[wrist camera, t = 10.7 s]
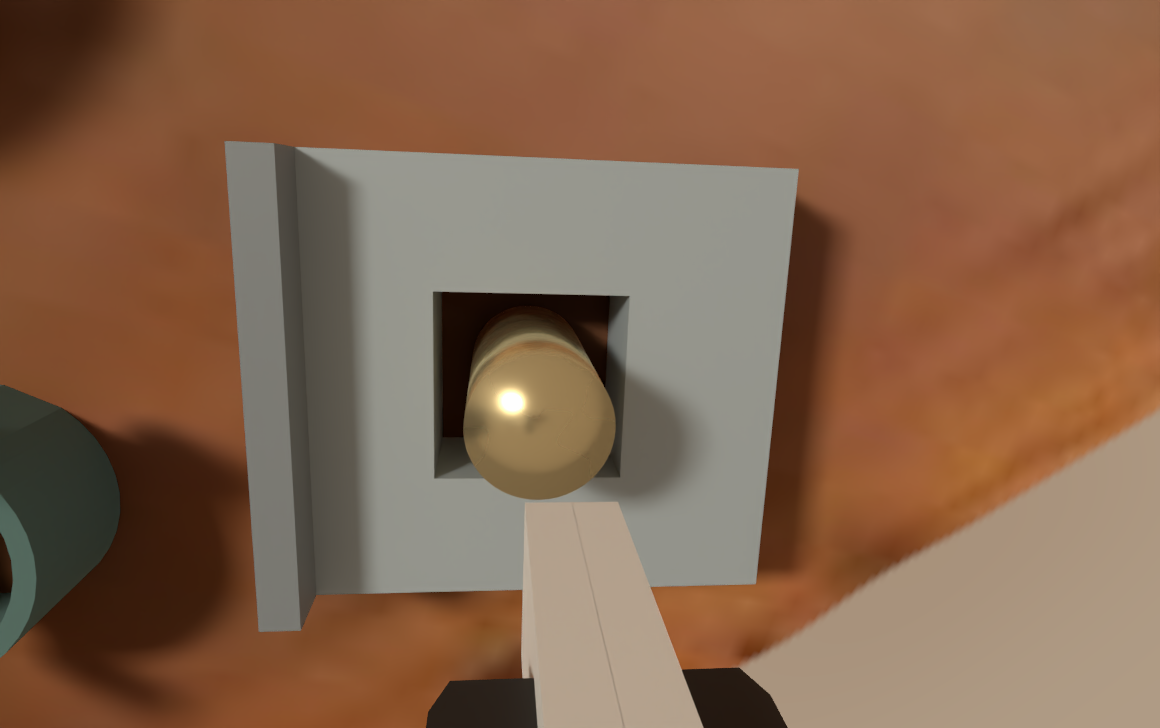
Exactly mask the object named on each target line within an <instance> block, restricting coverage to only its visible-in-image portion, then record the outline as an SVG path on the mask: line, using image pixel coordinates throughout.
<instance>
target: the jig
mask: <svg viewBox="0 0 1160 728" xmlns="http://www.w3.org/2000/svg"><path fill="white" fill-rule="evenodd" d="M225 154H226V168H227V182H228V197H229V211H230V225H231V240H232V254H233V268H234V282H235V297H236V311H237V325H238V340H239V354H240V368H241V382H242V397H243V411H244V425H245V440H246V454H247V468H248V483H249V497H250V511H251V525H252V540H253V554H254V568H255V583H256V597H257V611H258V625H259V632H268V631H301V629H302V627H303V624H304V622H305V620H306V617H307V615H308V613H309V611H310V608H311V606H312V604H313V601H314V599H315V597H316V595H326V594H368V593H409V592H451V591H492V590H523V559H524V515H525V503H538V502H618V503H619V506H620V509H621V511H622V514H623V517H624V519H625V522H626V525H627V527H628V530H629V532H630V535H631V538H632V540H633V543H634V546H635V548H636V551H637V554H638V556H639V559H640V562H641V564H642V567H643V569H644V572H645V575H646V577H647V580H648V583H649V585H650V587H658V586H699V585H741V584H756V577H757V568H758V558H759V548H760V539H761V529H762V519H763V510H764V500H765V490H766V481H767V471H768V461H769V452H770V442H771V432H772V423H773V413H774V403H775V394H776V384H777V374H778V365H779V355H780V345H781V336H782V326H783V316H784V307H785V297H786V287H787V278H788V268H789V258H790V249H791V239H792V229H793V220H794V210H795V200H796V191H797V181H798V171H799V169H785V168H762V167H739V166H716V165H693V164H671V163H648V162H625V161H602V160H579V159H557V158H534V157H511V156H488V155H465V154H442V153H420V152H397V151H374V150H351V149H328V148H305V147H292V146H286V145H281V144H275V143H256V142H234V141H225ZM442 292H477V293H522V294H567V295H610V300H609V321H608V342H607V362H606V383H605V389H606V391H607V393H608V395H609V397H610V399H611V402H612V405H613V408H614V413H615V421H616V430H615V438H614V443H613V447H612V449H611V452H610V454H609V456H608V458H607V460H606V462H605V464H604V465H603V466H602V468H601V469H600V471H599V472H598V473H597V474H596V475H595V476H594V477H593V478H592V479H591V480H590V481H589V482H587V483H586V484H585V485H583V486H582V487H580V488H579V489H577V490H575V491H573V492H571V493H569V494H566V495H563V496H561V497H557V498H552V499H544V500H530V499H523V498H519V497H515V496H512V495H509V494H507V493H505V492H502V491H501V490H499V489H497V488H496V487H494V486H493V485H491V484H490V483H489V482H488V481H486V480H485V479H484V478H483V477H482V476H481V475H480V473H479V472H478V471H477V469H476V468H475V467H474V465H473V463H472V461H471V460H470V458H469V455H468V452H467V450H466V446H465V442H464V437H443V384H442Z"/></svg>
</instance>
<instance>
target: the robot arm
mask: <svg viewBox="0 0 1160 728" xmlns="http://www.w3.org/2000/svg"><path fill="white" fill-rule="evenodd" d="M521 657H522V676H523V678H520V679H492V680H465V681H450V682H449V683H448V685H447V686H446V687H445V689H444V690H443V692H442V693H441V695H440V696H439V697H438V699H437V700H436V702H435V703H434V704H433V706H432V707H431V709H430V710H429V712H428V717H427V725H426V728H787V726H786V724H785V722H784V720H783V718H782V716H781V715H780V712H779V711H778V709H777V707H776V705H775V703H774V701H773V699H772V698H771V696H770V694H768V693H767V692H766V691H765V690H764V689H763V688H762V687H760V686H759V685H758V684H757V683H756V682H755V681H754V680H753V679H751V678H750V677H749V676H748V675H747V674H746V673H745V672H743V671H742V670H741V669H740V668H716V669H688V670H681V667H680V665H679V662H678V659H677V657H676V654H675V651H674V649H673V646H672V643H671V641H670V638H669V635H668V633H667V630H666V628H665V625H664V622H663V620H662V617H661V614H660V612H659V609H658V606H657V604H656V601H655V599H654V596H653V593H652V591H651V588H650V585H649V583H648V580H647V577H646V575H645V572H644V569H643V567H642V564H641V562H640V559H639V556H638V554H637V551H636V548H635V546H634V543H633V540H632V538H631V535H630V532H629V530H628V527H627V525H626V522H625V519H624V517H623V514H622V511H621V509H620V506H619V503H618V502H538V503H525V515H524V559H523V604H522V648H521Z"/></svg>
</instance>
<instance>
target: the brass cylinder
mask: <svg viewBox="0 0 1160 728" xmlns="http://www.w3.org/2000/svg"><path fill="white" fill-rule="evenodd" d="M615 430H616V421H615V413H614V408H613V405H612V402H611V399H610V397H609V395H608V393H607V391H606V389H605V387H604V385H603V384H602V382H601V380H600V378H599V376H598V374H597V372H596V371H595V369H594V367H593V365H592V363H591V361H590V359H589V358H588V356H587V354H586V352H585V350H584V348H583V346H582V345H581V343H580V341H579V339H578V337H577V335H576V333H575V332H574V330H573V329H572V327H571V326H570V325H569V324H568V322H567V321H566V320H564V319H563V318H562V317H561V316H559V315H558V314H556V313H555V312H553V311H551V310H549V309H546V308H543V307H538V306H529V305H526V306H517V307H513V308H510V309H507V310H504V311H502V312H500V313H499V314H497V315H496V316H494V317H493V318H492V319H491V320H489V321H488V322H487V324H486V325H485V326H484V327H483V328H482V330H481V331H480V333H479V335H478V337H477V339H476V342H475V345H474V349H473V355H472V363H471V370H470V378H469V385H468V393H467V400H466V408H465V415H464V426H463V433H464V442H465V446H466V450H467V452H468V455H469V458H470V460H471V461H472V463H473V465H474V467H475V468H476V469H477V471H478V472H479V473H480V475H481V476H482V477H483V478H484V479H485V480H486V481H488V482H489V483H490V484H491V485H493V486H494V487H496V488H497V489H499V490H501V491H502V492H505V493H507V494H509V495H512V496H515V497H519V498H523V499H530V500H544V499H552V498H557V497H561V496H563V495H566V494H569V493H571V492H573V491H575V490H577V489H579V488H580V487H582V486H583V485H585V484H586V483H587V482H589V481H590V480H591V479H592V478H593V477H594V476H595V475H596V474H597V473H598V472H599V471H600V469H601V468H602V466H603V465H604V464H605V462H606V460H607V458H608V456H609V454H610V452H611V449H612V447H613V443H614V438H615Z"/></svg>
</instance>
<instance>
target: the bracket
mask: <svg viewBox="0 0 1160 728" xmlns="http://www.w3.org/2000/svg"><path fill="white" fill-rule="evenodd" d="M119 516H120V492H119V488H118V483H117V479H116V475H115V472H114V470H113V468H112V465H111V463H110V461H109V459H108V456H107V455H106V453H105V452H104V450H103V449H102V447H101V446H100V444H99V443H98V441H97V440H96V438H95V437H94V436H93V435H92V434H91V433H90V432H89V431H88V430H87V429H86V428H85V427H84V426H83V425H82V424H81V422H79V421H78V420H77V419H76V418H74V417H73V416H72V415H70V414H69V413H68V412H66V411H65V410H64V409H62V408H61V407H58V406H56V405H53V404H50V403H48V402H45V401H43V400H40V399H38V398H35V397H33V396H30V395H28V394H25V393H23V392H20V391H18V390H15V389H13V388H10V387H8V386H5V385H0V533H1V534H2V536H3V538H4V540H5V543H6V546H7V549H8V552H9V555H10V559H11V565H12V576H13V585H12V592H11V593H0V657H2V656H3V655H4V654H5V653H6V652H7V651H8V650H9V649H10V648H11V647H13V646H14V645H15V644H16V643H17V642H18V641H19V640H20V639H21V638H22V637H23V636H24V635H25V634H26V633H27V632H28V631H29V630H30V629H31V628H32V627H33V626H34V625H35V624H36V623H37V622H38V621H39V620H40V619H42V618H43V617H44V616H45V615H46V614H47V613H48V612H49V611H50V610H51V609H52V608H53V607H54V606H55V605H56V604H57V603H58V602H59V601H60V600H61V599H62V598H63V597H64V596H65V595H66V594H67V593H68V592H69V591H71V590H72V589H73V588H74V587H75V586H76V585H77V584H78V583H79V582H80V581H81V580H82V579H83V578H84V577H85V576H86V575H87V574H88V573H89V572H90V571H91V570H92V569H93V568H94V567H95V566H96V565H97V564H98V563H99V562H100V561H101V560H102V558H103V557H104V555H105V554H106V552H107V551H108V549H109V548H110V546H111V543H112V541H113V539H114V536H115V534H116V531H117V527H118V522H119Z"/></svg>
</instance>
